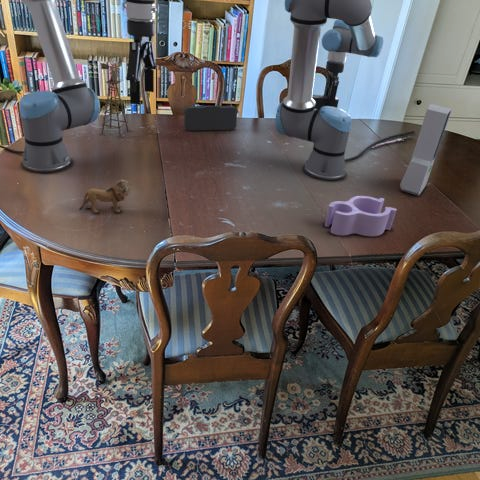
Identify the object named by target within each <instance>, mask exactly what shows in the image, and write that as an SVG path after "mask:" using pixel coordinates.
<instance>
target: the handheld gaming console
mask: <svg viewBox="0 0 480 480" xmlns="http://www.w3.org/2000/svg"><path fill="white" fill-rule="evenodd" d="M238 111H239V110H238V107H236V106H235V105H191V106H189V105H188V106H185V108H184V114H183V115H184V117H183V119H184V121H183V122H184V123H183V127H184V129H185V130H186V131H190V132H192V131H193V132H194V131H229V130H230V131H231V130H235V129H236V128H237V123H238V122H237V119H238Z"/></svg>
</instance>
